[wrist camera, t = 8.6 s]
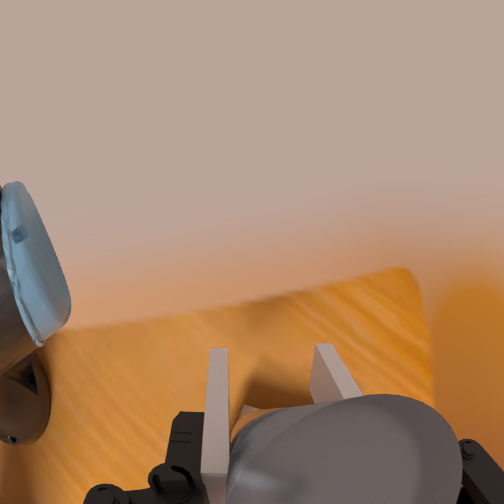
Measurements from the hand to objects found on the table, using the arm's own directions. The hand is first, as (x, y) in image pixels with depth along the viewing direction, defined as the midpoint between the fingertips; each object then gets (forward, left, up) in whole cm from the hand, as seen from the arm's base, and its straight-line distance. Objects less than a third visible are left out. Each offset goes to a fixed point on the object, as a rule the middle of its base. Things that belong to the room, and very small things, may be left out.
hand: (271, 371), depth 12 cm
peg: (+1, -4, -5) cm, 6 cm away
